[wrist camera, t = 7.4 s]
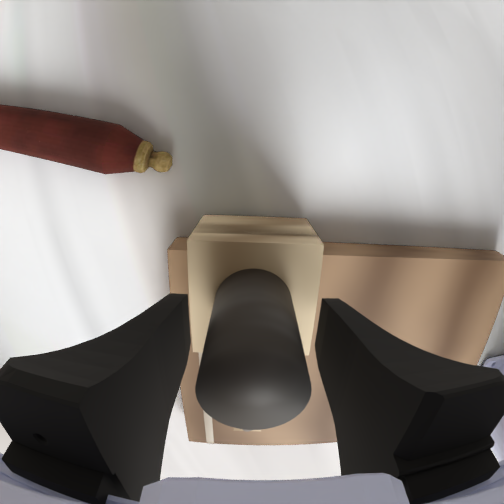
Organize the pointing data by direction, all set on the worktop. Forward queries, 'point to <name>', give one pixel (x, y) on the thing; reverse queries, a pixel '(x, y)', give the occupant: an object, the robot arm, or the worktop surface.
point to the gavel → (77, 141)
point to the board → (376, 310)
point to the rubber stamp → (253, 316)
